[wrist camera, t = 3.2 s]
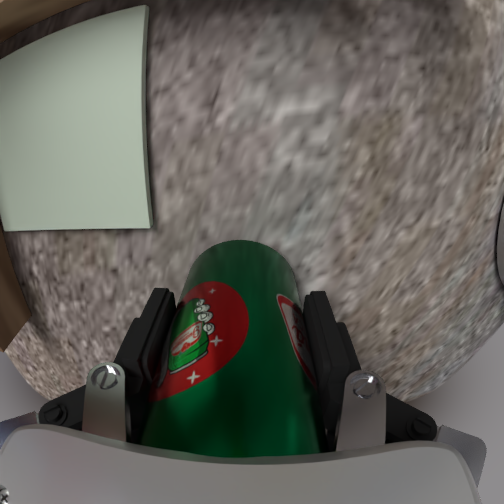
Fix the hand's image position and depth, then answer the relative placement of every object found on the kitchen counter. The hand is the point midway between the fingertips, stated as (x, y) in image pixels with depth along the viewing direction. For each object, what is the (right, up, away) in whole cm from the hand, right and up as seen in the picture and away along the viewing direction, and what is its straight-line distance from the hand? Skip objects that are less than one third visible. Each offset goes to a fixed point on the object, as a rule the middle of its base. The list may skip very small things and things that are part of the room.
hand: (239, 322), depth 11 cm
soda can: (0, +1, +3) cm, 3 cm away
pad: (-9, +9, -1) cm, 12 cm away
